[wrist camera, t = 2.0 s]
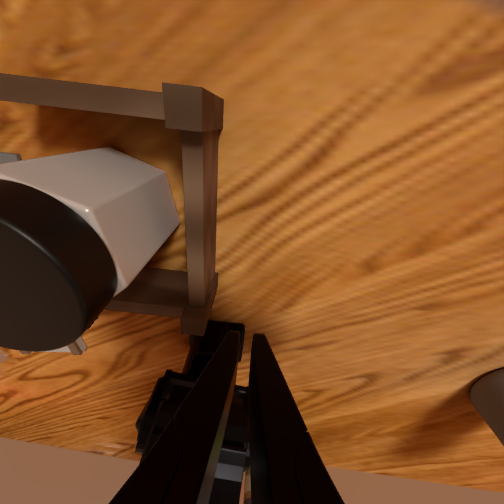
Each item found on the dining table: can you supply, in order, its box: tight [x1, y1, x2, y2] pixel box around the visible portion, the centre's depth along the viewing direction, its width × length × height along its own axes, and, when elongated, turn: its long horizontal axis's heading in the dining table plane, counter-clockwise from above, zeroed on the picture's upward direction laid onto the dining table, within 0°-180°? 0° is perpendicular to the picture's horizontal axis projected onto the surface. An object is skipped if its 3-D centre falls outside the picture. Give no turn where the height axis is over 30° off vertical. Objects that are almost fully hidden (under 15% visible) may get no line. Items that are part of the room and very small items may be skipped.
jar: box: [0, 147, 180, 352], centre depth 15 cm, size 9×8×12 cm
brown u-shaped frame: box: [0, 73, 224, 336], centre depth 17 cm, size 17×13×6 cm
